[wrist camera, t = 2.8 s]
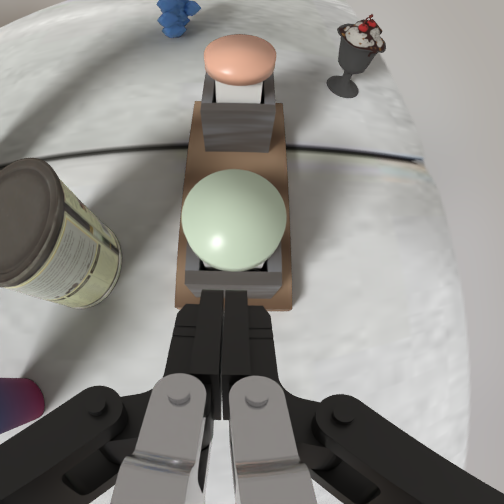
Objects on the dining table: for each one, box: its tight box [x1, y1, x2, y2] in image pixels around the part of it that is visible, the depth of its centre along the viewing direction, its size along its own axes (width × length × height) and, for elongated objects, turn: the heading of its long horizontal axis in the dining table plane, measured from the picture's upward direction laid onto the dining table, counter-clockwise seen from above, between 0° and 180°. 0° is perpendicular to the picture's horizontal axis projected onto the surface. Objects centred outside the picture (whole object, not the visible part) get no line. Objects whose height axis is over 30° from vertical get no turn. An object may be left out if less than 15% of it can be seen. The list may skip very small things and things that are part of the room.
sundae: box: [327, 14, 386, 98], centre depth 33 cm, size 7×7×15 cm
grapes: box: [156, 0, 201, 38], centre depth 37 cm, size 12×7×12 cm, turn 177°
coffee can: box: [0, 158, 122, 309], centre depth 24 cm, size 10×10×14 cm
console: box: [175, 72, 292, 311], centre depth 30 cm, size 25×11×9 cm, turn 0°
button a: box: [182, 169, 287, 272], centre depth 22 cm, size 6×6×8 cm
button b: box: [204, 34, 276, 104], centre depth 27 cm, size 6×6×8 cm
